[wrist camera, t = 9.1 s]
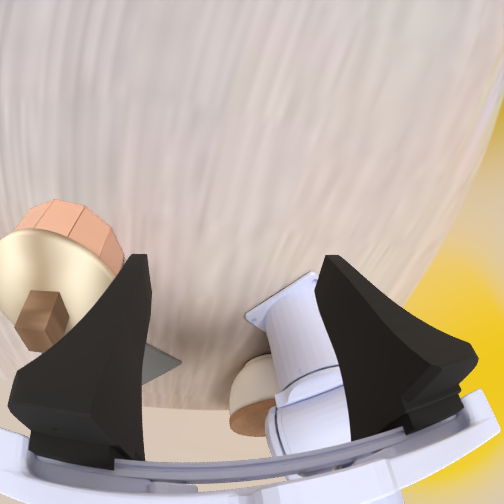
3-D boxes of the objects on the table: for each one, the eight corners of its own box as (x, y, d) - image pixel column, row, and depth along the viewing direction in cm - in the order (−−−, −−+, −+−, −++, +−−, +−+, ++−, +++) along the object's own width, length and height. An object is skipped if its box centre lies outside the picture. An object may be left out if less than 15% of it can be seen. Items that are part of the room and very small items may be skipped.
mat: (181, 361, 33) (181, 363, 33) (122, 393, 37) (122, 395, 37) (84, 306, 26) (84, 308, 26) (42, 352, 30) (41, 354, 30)
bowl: (146, 254, 24) (138, 294, 20) (86, 311, 26) (76, 348, 23) (50, 176, 18) (23, 207, 14) (6, 253, 21) (-14, 287, 17)
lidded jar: (323, 341, 34) (345, 412, 27) (294, 384, 40) (308, 443, 33) (231, 341, 32) (241, 422, 24) (219, 385, 38) (225, 450, 31)
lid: (111, 226, 16) (92, 275, 13) (138, 348, 24) (134, 392, 20) (-30, 230, 14) (-59, 268, 11) (22, 338, 21) (10, 375, 18)
